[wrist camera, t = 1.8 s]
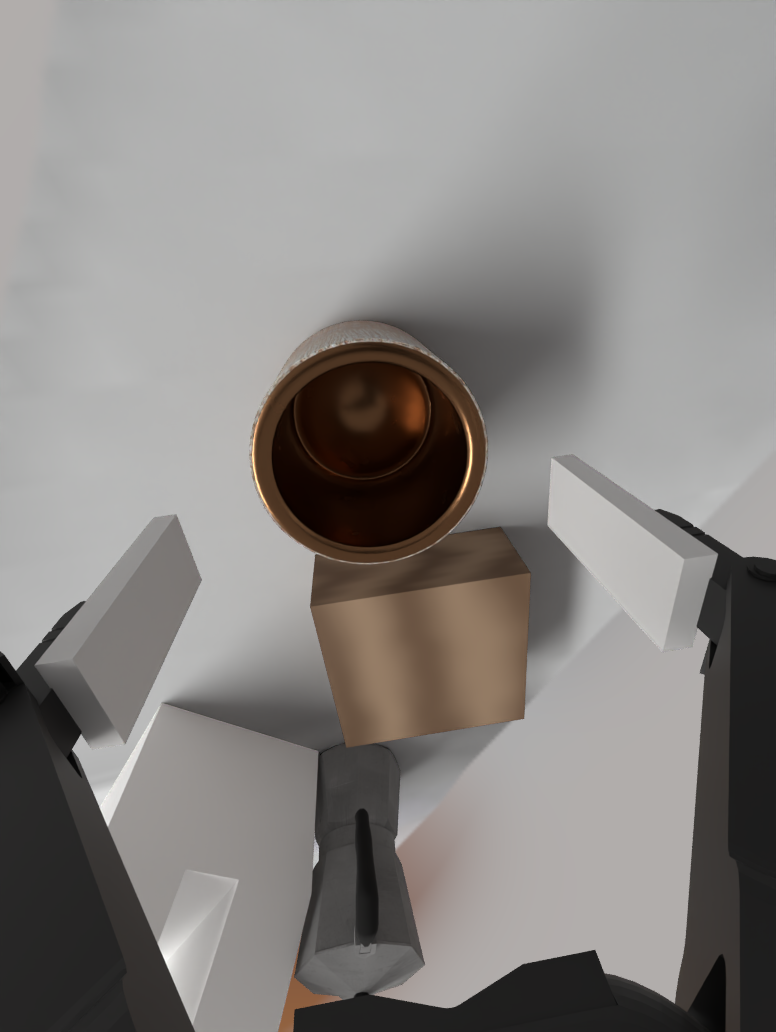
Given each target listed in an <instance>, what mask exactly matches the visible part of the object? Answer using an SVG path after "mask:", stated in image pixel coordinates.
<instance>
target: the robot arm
mask: <svg viewBox="0 0 776 1032" xmlns="http://www.w3.org/2000/svg"><path fill="white" fill-rule="evenodd" d="M548 527H549V528H550V529H551V530H552V531H553V532H554V533H555V534H556V535H557V537H558V538H559V539H560V540H561V541H562V542H563V543H564V544H565V545H566V546H567V548H568V549H569V550H570V551H571V552H572V553H573V554H574V555H575V556H576V557H577V559H578V560H579V561H580V562H581V563H582V564H583V565H584V566H585V567H586V568H587V570H588V571H589V572H590V573H591V574H592V575H593V576H594V577H595V578H596V579H597V581H598V582H599V583H600V584H601V585H602V586H603V587H604V588H605V589H606V591H607V592H608V593H609V594H610V595H611V596H612V597H613V598H614V599H615V600H616V602H617V603H618V604H619V605H620V606H621V607H622V608H623V609H624V610H625V611H626V613H627V614H628V615H629V616H630V617H631V618H632V619H633V620H634V621H635V622H636V624H637V625H638V626H639V627H640V628H641V629H642V630H643V631H644V632H645V634H646V635H647V636H648V637H649V638H650V639H651V640H652V641H653V642H654V643H655V645H657V647H658V648H659V649H660V650H661V651H662V652H667V651H673V650H679V649H684V648H690V647H692V646H693V642H694V639H695V636H696V632H697V628H699V629H700V630H701V631H702V632H703V633H704V634H705V635H706V636H707V637H708V638H709V639H710V640H709V644H708V647H707V650H706V654H705V657H704V660H703V664H702V667H701V670H700V673H701V674H704V675H705V677H704V691H703V706H702V719H701V733H700V748H699V761H698V775H697V790H696V804H695V817H694V831H693V846H692V859H691V872H690V886H689V887H690V888H689V900H688V914H687V928H686V939H685V948H684V954H683V959H682V964H681V968H680V973H679V978H678V985H677V991H676V999H675V1004H674V1003H673V1002H671V1001H669V1000H668V999H666V998H665V997H663V996H662V995H660V994H658V993H657V992H655V991H652V990H650V989H648V988H646V987H644V986H642V985H640V984H638V983H636V982H633V981H630V980H627V979H624V978H621V977H618V976H615V975H610V974H605V973H604V971H603V969H602V966H601V964H600V961H599V959H598V956H597V953H596V951H595V950H592V951H587V952H582V953H578V954H572V955H567V956H562V957H557V958H552V959H547V960H542V961H537V962H532V963H527V964H523V965H521V966H520V967H518V968H516V969H515V970H513V971H512V972H510V973H509V974H507V975H505V976H504V977H502V978H501V979H499V980H498V981H496V982H494V983H493V984H491V985H490V986H488V987H487V988H485V989H483V990H482V991H480V992H479V993H477V994H476V995H474V996H473V997H471V998H469V999H468V1000H466V1001H465V1002H463V1003H462V1004H460V1005H458V1006H456V1007H453V1008H440V1007H435V1006H429V1005H423V1004H418V1003H413V1002H407V1001H402V1000H396V999H391V998H385V997H380V996H375V995H365V996H360V997H355V998H350V999H345V1000H340V1001H335V1002H330V1003H325V1004H320V1005H315V1006H310V1007H305V1008H300V1009H295V1013H294V1031H293V1032H776V560H773V559H769V558H761V557H746V558H743V557H741V556H740V555H738V554H737V553H735V552H734V551H732V550H730V549H729V548H728V547H726V546H725V545H723V544H721V543H720V542H718V541H717V540H715V539H714V538H712V537H711V536H709V535H705V532H703V531H702V530H700V529H698V528H697V527H693V525H692V524H691V523H689V522H688V521H686V520H685V519H683V518H682V517H680V516H678V515H675V514H672V513H670V512H667V511H664V510H661V509H658V510H653V509H652V508H650V507H649V506H647V505H646V504H645V503H643V502H642V501H640V500H639V499H637V498H636V497H634V496H633V495H631V494H630V493H628V492H627V491H626V490H624V489H623V488H621V487H620V486H618V485H617V484H615V483H614V482H612V481H611V480H609V479H608V478H607V477H605V476H604V475H602V474H601V473H599V472H598V471H596V470H595V469H593V468H592V467H591V466H589V465H588V464H586V463H585V462H583V461H582V460H580V459H579V458H577V457H576V456H574V455H573V454H571V455H565V456H558V457H552V458H551V475H550V492H549V508H548ZM201 581H202V579H201V577H200V574H199V572H198V569H197V566H196V564H195V561H194V559H193V556H192V553H191V551H190V548H189V546H188V543H187V541H186V538H185V535H184V533H183V530H182V528H181V525H180V522H179V520H178V517H177V515H176V514H175V515H168V516H162V517H155V518H153V519H152V520H151V522H150V523H149V524H148V525H147V526H146V528H145V529H144V530H143V531H142V533H141V534H140V535H139V536H138V538H137V539H136V540H135V541H134V543H133V544H132V545H131V546H130V548H129V549H128V550H127V551H126V552H125V554H124V555H123V556H122V557H121V559H120V560H119V561H118V562H117V564H116V565H115V566H114V567H113V569H112V570H111V571H110V572H109V574H108V575H107V576H106V577H105V578H104V580H103V581H102V582H101V583H100V585H99V586H98V587H97V588H96V590H95V591H94V592H93V593H92V595H91V596H90V597H89V598H88V600H87V601H83V602H80V603H79V604H77V605H76V606H75V607H73V608H72V609H71V610H69V611H68V612H67V613H65V614H64V615H63V616H62V617H61V618H60V619H59V621H58V622H57V623H56V624H55V625H54V627H53V628H52V631H51V632H49V633H48V634H47V635H46V636H45V637H44V638H43V640H42V643H39V644H38V646H37V647H36V648H35V649H34V650H33V651H32V653H31V654H30V655H29V656H28V657H27V659H26V660H25V661H24V662H23V663H22V665H21V666H20V667H19V668H18V669H17V670H16V671H15V669H14V668H13V666H12V665H11V664H10V662H9V661H8V659H7V658H6V657H5V655H4V654H3V653H1V652H0V1032H195V1030H194V1028H193V1026H192V1023H191V1021H190V1019H189V1016H188V1014H187V1012H186V1009H185V1007H184V1004H183V1002H182V1000H181V997H180V995H179V993H178V990H177V988H176V986H175V983H174V981H173V979H172V976H171V974H170V972H169V969H168V967H167V965H166V962H165V960H164V958H163V955H162V953H161V951H160V948H159V946H158V944H157V941H156V939H155V937H154V934H153V932H152V930H151V927H150V925H149V923H148V920H147V918H146V915H145V913H144V911H143V908H142V906H141V904H140V901H139V899H138V897H137V894H136V892H135V890H134V887H133V885H132V883H131V880H130V878H129V876H128V873H127V871H126V869H125V866H124V864H123V862H122V859H121V857H120V855H119V852H118V850H117V848H116V845H115V843H114V841H113V838H112V836H111V834H110V831H109V829H108V826H107V824H106V822H105V819H104V817H103V815H102V812H101V810H100V808H99V805H98V803H97V801H96V798H95V796H94V794H93V791H92V789H91V787H90V784H89V782H88V780H87V777H86V775H85V773H84V770H83V768H82V766H81V763H80V761H79V759H78V757H77V756H76V754H75V753H74V752H73V750H72V748H73V747H74V745H75V743H76V741H77V740H78V738H79V736H80V734H82V736H83V737H84V739H85V740H86V742H87V743H88V745H89V746H90V748H91V749H92V750H95V749H101V748H107V747H113V746H119V745H124V744H126V742H127V739H128V737H129V735H130V733H131V731H132V729H133V727H134V724H135V722H136V720H137V718H138V716H139V714H140V712H141V709H142V707H143V705H144V703H145V701H146V699H147V697H148V694H149V692H150V690H151V688H152V686H153V684H154V681H155V679H156V677H157V675H158V673H159V671H160V669H161V666H162V664H163V662H164V660H165V658H166V656H167V654H168V651H169V649H170V647H171V645H172V643H173V641H174V639H175V636H176V634H177V632H178V630H179V628H180V626H181V624H182V621H183V619H184V617H185V615H186V613H187V611H188V608H189V606H190V604H191V602H192V600H193V598H194V596H195V593H196V591H197V589H198V587H199V585H200V583H201Z"/></svg>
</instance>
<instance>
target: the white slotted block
mask: <svg viewBox="0 0 776 1032" xmlns="http://www.w3.org/2000/svg"><path fill="white" fill-rule="evenodd" d="M317 772H318V751H316V750H313V749H310V748H307V747H304V746H300V745H297V744H294V743H291V742H287V741H284V740H281V739H278V738H274V737H271V736H268V735H265V734H261V733H258V732H255V731H252V730H248V729H245V728H242V727H239V726H236V725H232V724H229V723H226V722H223V721H219V720H216V719H213V718H210V717H206V716H203V715H200V714H197V713H193V712H190V711H187V710H184V709H181V708H177V707H174V706H171V705H168V704H164V703H161V705H160V706H159V708H158V710H157V711H156V713H155V715H154V717H153V718H152V720H151V722H150V723H149V725H148V727H147V728H146V730H145V732H144V733H143V735H142V737H141V739H140V740H139V742H138V744H137V745H136V747H135V749H134V750H133V752H132V754H131V755H130V757H129V759H128V761H127V762H126V764H125V766H124V767H123V769H122V771H121V772H120V774H119V776H118V778H117V779H116V781H115V783H114V784H113V786H112V788H111V789H110V791H109V793H108V794H107V796H106V798H105V800H104V801H103V803H102V805H101V806H100V810H101V812H102V815H103V817H104V819H105V822H106V824H107V826H108V829H109V831H110V834H111V836H112V838H113V841H114V843H115V845H116V848H117V850H118V852H119V855H120V857H121V859H122V862H123V864H124V866H125V869H126V871H127V873H128V876H129V878H130V880H131V883H132V885H133V887H134V890H135V892H136V894H137V897H138V899H139V901H140V904H141V906H142V908H143V911H144V913H145V915H146V918H147V920H148V923H149V925H150V927H151V930H152V932H153V934H154V937H155V939H156V941H157V944H158V946H159V948H160V951H161V953H162V955H163V958H164V960H165V962H166V965H167V967H168V969H169V972H170V974H171V976H172V979H173V981H174V983H175V986H176V988H177V990H178V993H179V995H180V997H181V1000H182V1002H183V1004H184V1007H185V1009H186V1012H187V1014H188V1016H189V1019H190V1021H191V1023H192V1026H193V1028H194V1030H195V1032H278V1029H279V1025H280V1021H281V1017H282V1013H283V1009H284V1004H285V1000H286V996H287V992H288V988H289V984H290V980H291V975H292V971H293V967H294V963H295V959H296V955H297V951H298V947H299V943H300V939H301V935H302V930H303V926H304V922H305V918H306V914H307V910H308V906H309V902H310V897H311V893H312V873H313V853H314V833H315V812H316V792H317Z"/></svg>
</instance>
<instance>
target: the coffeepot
mask: <svg viewBox="0 0 776 1032" xmlns="http://www.w3.org/2000/svg"><path fill="white" fill-rule="evenodd" d="M399 787H400V769H399V767H398V765H397V762H396V759H395V757H394V756H393V754H392V753H391V751H390V750H389V749H387V748H384V747H382V746H380V745H377V744H374V743H372V744H366V745H360V746H354V747H348V748H346V744H345V743H344V744H340V745H337V746H335V747H332V748H330V749H329V750H327V751H325V752H323V753H322V754H321V755H320V756H319V757H318V772H317V792H316V812H315V838H316V841H317V843H318V846H319V861H318V863H317V864H316V866H315V867H314V869H313V873H312V893H311V897H310V902H309V906H308V910H307V914H306V918H305V922H304V926H303V930H302V936H301V942H300V948H299V954H298V960H297V965H296V971H295V976H294V977H295V978H296V979H297V980H298V981H299V982H300V983H302V984H303V985H304V986H305V987H306V988H308V989H309V990H310V991H311V992H312V993H314V994H323V995H333V996H339V997H340V998H342V999H343V1000H345V999H350V998H355V997H360V996H365V995H374V994H375V993H378V992H382V991H385V990H387V989H390V988H394V987H397V986H399V985H402V984H403V983H404V982H406V981H407V980H408V979H409V978H410V977H411V976H413V975H414V974H415V973H416V972H417V971H418V970H420V969H421V968H422V967H423V966H424V965H425V962H424V959H423V955H422V950H421V946H420V942H419V937H418V933H417V929H416V924H415V920H414V916H413V912H412V907H411V903H410V898H409V894H408V890H407V885H406V881H405V876H404V872H403V868H402V864H401V862H400V860H399V858H398V856H397V855H396V853H395V841H394V840H395V838H396V836H397V831H398V809H399Z"/></svg>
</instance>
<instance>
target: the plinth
mask: <svg viewBox="0 0 776 1032" xmlns="http://www.w3.org/2000/svg"><path fill="white" fill-rule="evenodd" d="M530 579H531V572H530V571H529V569H528V568H527V566H526V565H525V563H524V562H523V560H522V559H521V557H520V556H519V554H518V553H517V551H516V550H515V548H514V547H513V545H512V544H511V542H510V541H509V539H508V538H507V536H506V535H505V533H504V532H503V530H502V529H501V527H496V528H489V529H483V530H476V531H469V532H463V533H456V534H449V535H447V536H446V537H444V538H443V539H442V540H440V541H439V542H438V543H436V544H434V545H433V546H431V547H430V548H428V549H426V550H424V551H422V552H420V553H418V554H416V555H413V556H410V557H408V558H404V559H401V560H397V561H393V562H388V563H381V564H353V563H346V562H341V561H336V560H333V559H329V558H326V557H324V556H321V555H318V554H316V555H315V563H314V573H313V583H312V593H311V604H310V608H311V612H312V616H313V620H314V623H315V627H316V631H317V635H318V639H319V643H320V647H321V651H322V655H323V658H324V662H325V666H326V670H327V674H328V678H329V682H330V686H331V690H332V693H333V697H334V701H335V705H336V709H337V713H338V717H339V721H340V725H341V729H342V732H343V736H344V740H345V744H346V748H348V747H354V746H360V745H366V744H372V743H378V742H385V741H391V740H397V739H403V738H409V737H415V736H421V735H427V734H434V733H440V732H446V731H452V730H458V729H464V728H470V727H476V726H482V725H489V724H495V723H501V722H507V721H513V720H519V719H524V711H525V689H526V667H527V645H528V623H529V601H530Z"/></svg>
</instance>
